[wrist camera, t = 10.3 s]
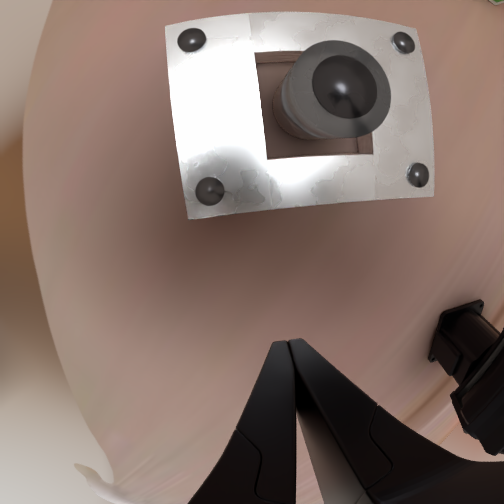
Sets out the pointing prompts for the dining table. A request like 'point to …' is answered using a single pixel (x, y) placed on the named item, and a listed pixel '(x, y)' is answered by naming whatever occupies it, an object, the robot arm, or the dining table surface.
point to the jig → (251, 125)
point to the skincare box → (497, 2)
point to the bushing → (332, 93)
